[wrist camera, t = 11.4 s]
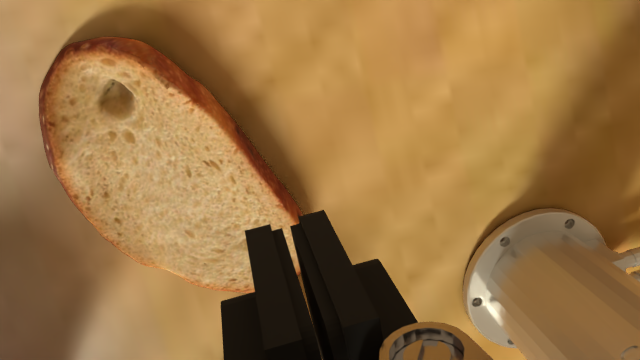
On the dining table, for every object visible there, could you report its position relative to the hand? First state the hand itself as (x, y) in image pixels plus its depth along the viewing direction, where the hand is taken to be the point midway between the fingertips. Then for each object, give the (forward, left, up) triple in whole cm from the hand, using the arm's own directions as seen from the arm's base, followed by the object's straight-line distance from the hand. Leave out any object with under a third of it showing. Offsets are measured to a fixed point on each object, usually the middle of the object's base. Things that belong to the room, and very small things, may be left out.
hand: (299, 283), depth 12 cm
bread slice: (+4, +6, -28) cm, 29 cm away
